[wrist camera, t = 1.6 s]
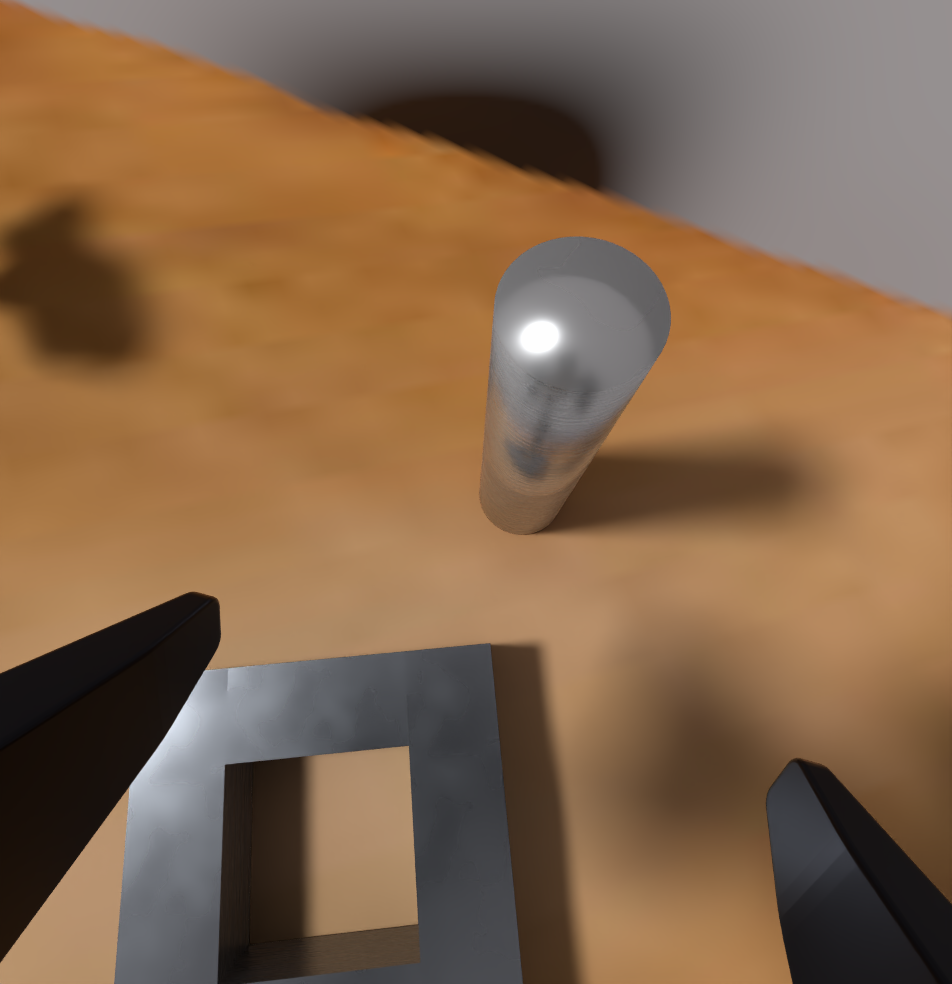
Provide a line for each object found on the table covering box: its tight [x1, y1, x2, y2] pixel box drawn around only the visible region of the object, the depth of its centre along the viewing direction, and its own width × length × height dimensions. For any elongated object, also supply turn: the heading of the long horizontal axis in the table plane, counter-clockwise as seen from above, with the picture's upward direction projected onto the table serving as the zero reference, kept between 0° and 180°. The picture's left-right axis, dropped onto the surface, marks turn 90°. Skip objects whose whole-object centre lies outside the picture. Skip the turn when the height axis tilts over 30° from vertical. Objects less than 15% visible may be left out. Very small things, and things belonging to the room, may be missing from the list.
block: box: [114, 643, 523, 984], centre depth 18 cm, size 12×12×2 cm
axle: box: [479, 237, 671, 535], centre depth 17 cm, size 4×4×13 cm
